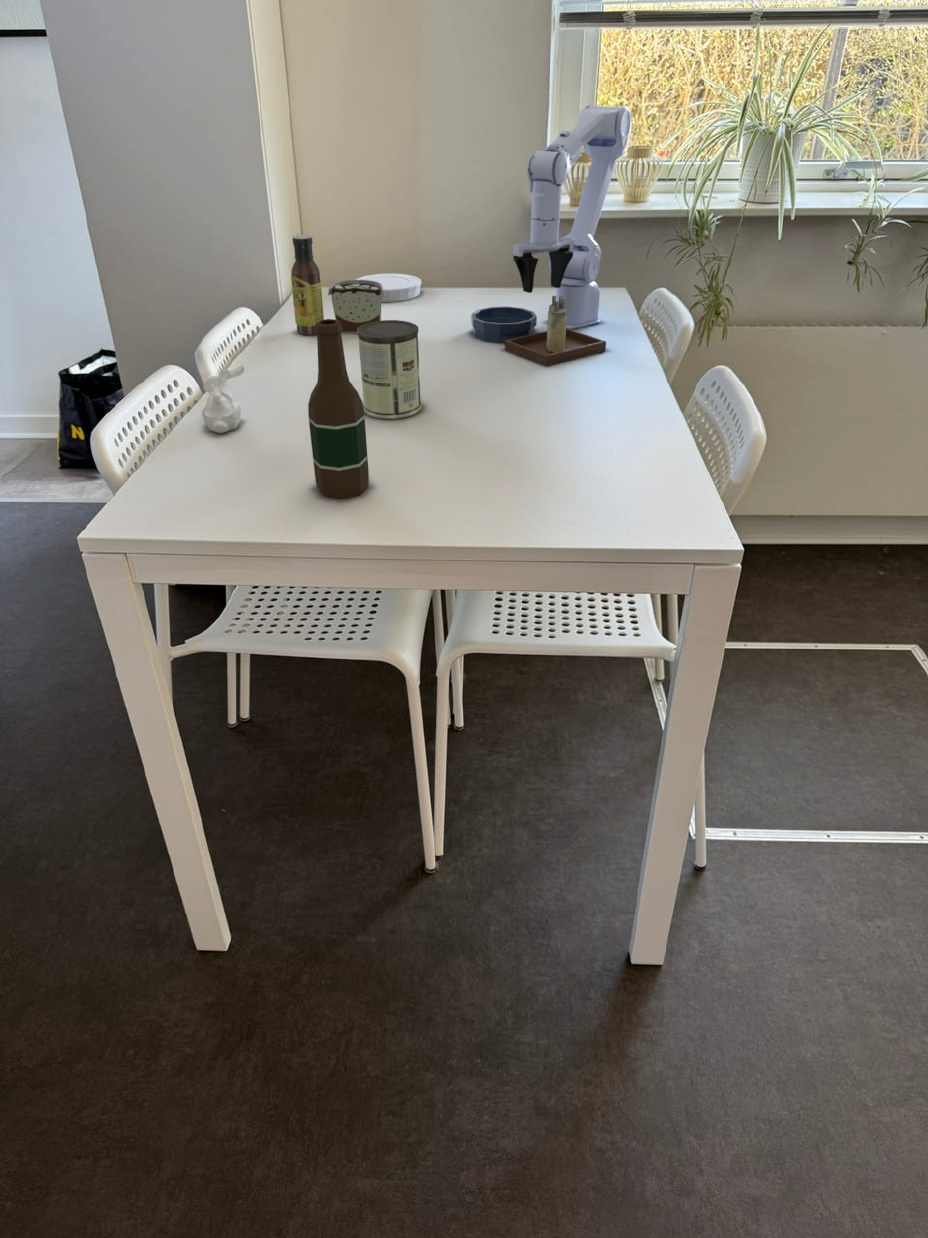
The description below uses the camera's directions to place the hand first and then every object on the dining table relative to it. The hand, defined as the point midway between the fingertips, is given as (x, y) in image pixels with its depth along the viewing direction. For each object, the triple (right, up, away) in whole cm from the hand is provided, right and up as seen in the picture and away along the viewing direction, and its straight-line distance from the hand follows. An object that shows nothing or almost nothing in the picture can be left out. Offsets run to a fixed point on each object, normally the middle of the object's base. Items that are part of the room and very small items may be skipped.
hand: (541, 289), depth 185 cm
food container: (-39, -4, +13) cm, 41 cm away
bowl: (-7, -6, +10) cm, 14 cm away
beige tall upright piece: (+3, -13, -1) cm, 13 cm away
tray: (+3, -13, -1) cm, 13 cm away
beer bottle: (-34, -50, -54) cm, 81 cm away
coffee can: (-29, -32, -28) cm, 51 cm away
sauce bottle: (-50, -5, +12) cm, 52 cm away
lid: (-36, +13, +39) cm, 55 cm away
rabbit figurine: (-56, -35, -33) cm, 74 cm away
